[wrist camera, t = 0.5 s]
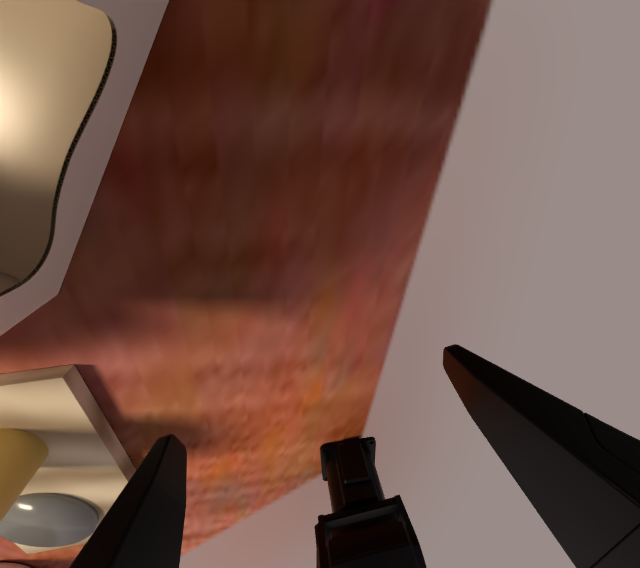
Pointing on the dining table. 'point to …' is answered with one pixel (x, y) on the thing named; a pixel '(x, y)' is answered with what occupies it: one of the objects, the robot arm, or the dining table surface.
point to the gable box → (59, 129)
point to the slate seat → (48, 520)
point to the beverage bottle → (12, 565)
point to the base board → (66, 438)
